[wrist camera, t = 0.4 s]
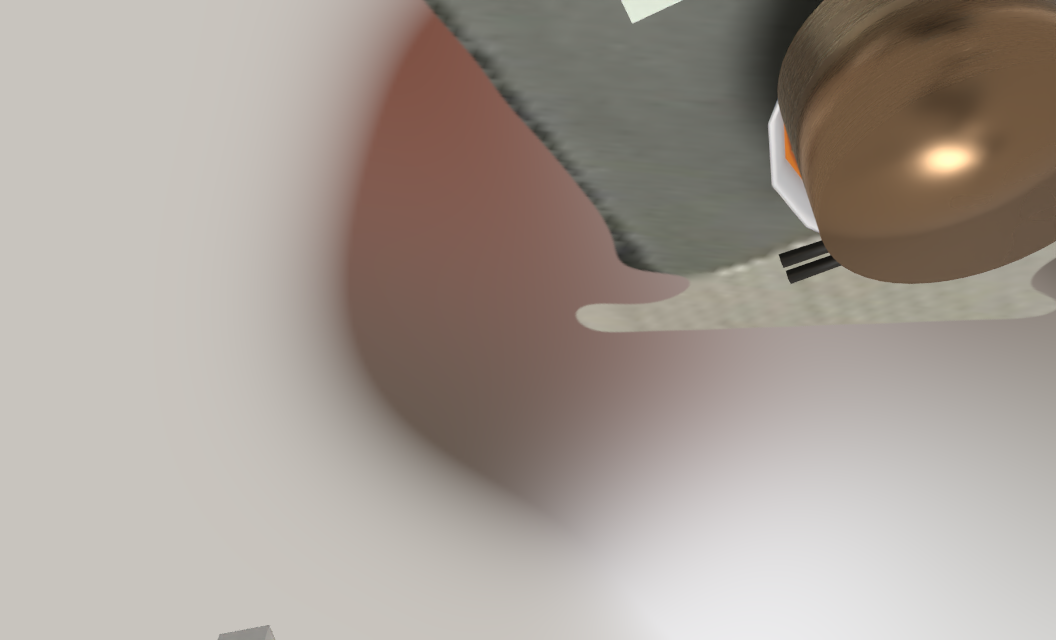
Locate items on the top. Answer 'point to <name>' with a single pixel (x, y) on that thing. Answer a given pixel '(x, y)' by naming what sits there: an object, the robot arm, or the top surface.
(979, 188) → the plunger
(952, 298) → the top surface
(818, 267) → the ramen bowl
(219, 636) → the robot arm
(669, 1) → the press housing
